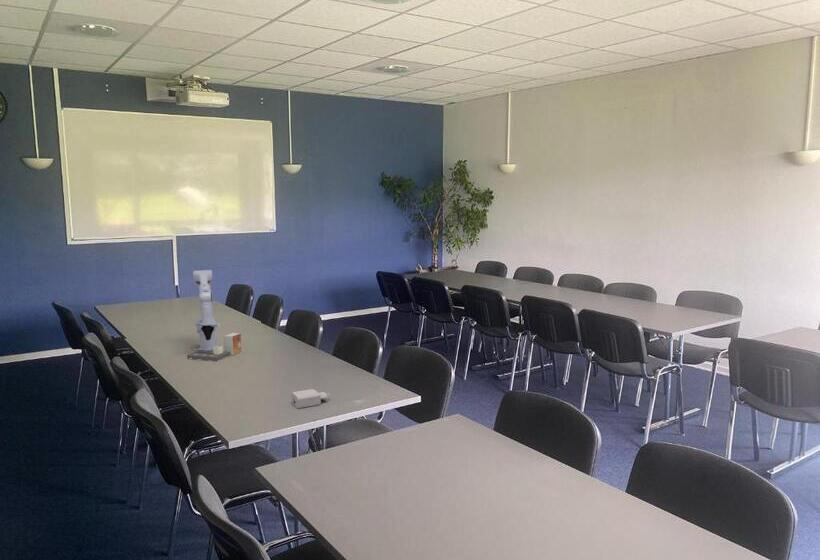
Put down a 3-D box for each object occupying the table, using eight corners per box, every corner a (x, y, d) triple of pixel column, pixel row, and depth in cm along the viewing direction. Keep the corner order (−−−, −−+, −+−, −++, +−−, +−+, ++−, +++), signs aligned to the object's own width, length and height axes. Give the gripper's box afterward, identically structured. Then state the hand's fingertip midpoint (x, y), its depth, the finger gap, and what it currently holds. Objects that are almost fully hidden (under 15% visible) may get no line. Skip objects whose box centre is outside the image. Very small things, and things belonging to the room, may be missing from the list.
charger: (334, 403, 243) (298, 409, 236) (326, 396, 251) (291, 402, 244) (333, 391, 242) (297, 397, 235) (326, 385, 250) (291, 391, 244)
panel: (201, 353, 325) (201, 349, 324) (230, 355, 319) (230, 351, 319) (187, 358, 313) (187, 354, 313) (216, 361, 308) (216, 357, 308)
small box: (233, 355, 319) (232, 336, 317) (224, 354, 321) (223, 335, 319) (241, 352, 326) (241, 333, 325) (233, 351, 328) (232, 332, 327)
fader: (218, 352, 317) (217, 345, 316) (223, 352, 316) (222, 345, 315) (213, 354, 313) (213, 347, 312) (218, 354, 312) (218, 347, 311)
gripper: (190, 315, 312) (191, 340, 313) (214, 316, 307) (215, 342, 309) (198, 312, 318) (200, 337, 320) (222, 313, 314) (223, 339, 316)
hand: (208, 339), depth 315 cm, fingers closed
